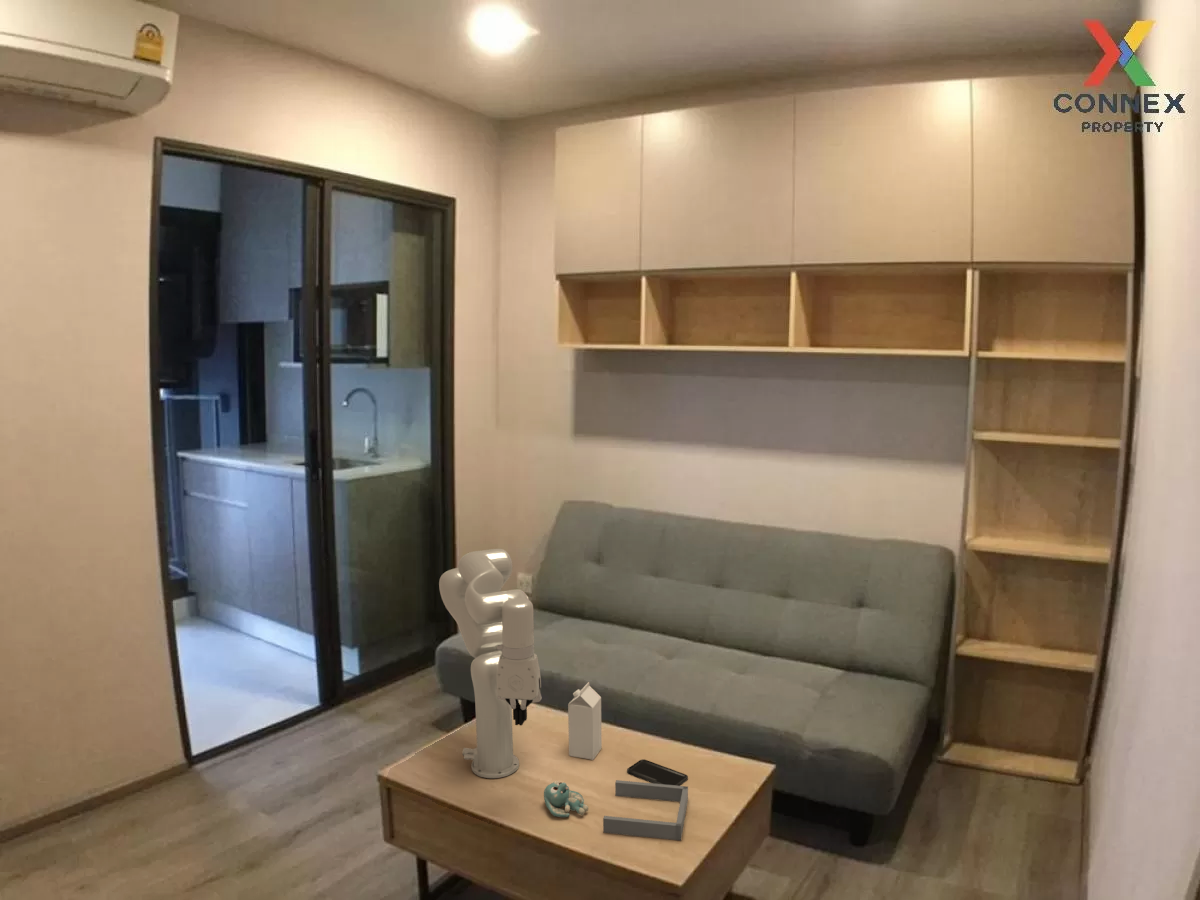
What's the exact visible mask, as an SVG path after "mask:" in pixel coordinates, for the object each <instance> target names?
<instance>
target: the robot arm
mask: <svg viewBox="0 0 1200 900" xmlns="http://www.w3.org/2000/svg"><path fill="white" fill-rule="evenodd" d="M513 567H514V566H513V561H512V558H511V556H510V553H509V552H507V550H506V549H503V548H491V549H483V550H475V551H474V550H473V551H470V552H468V553H465V554H464V555H463V556H461V557H460V559H459V560H458V563H457V567H455V568H452V569H448V570H447V571H445V572H444V573H442V574H441V576H440V578H439V582H438V585H439V593H440V597H441V601H442V602H443V605H444V606H445V609H446V610H447V611H448V612H449V614H450V615H451V617H452V618H453V619H454V620H455V622H456V624H457V627H458V629H459V631H460V635H461V636H462V640H463V642H464V645H465V647H466V650H467V652H468V653H469V655H470V656H471V657H473V658H474V659H473V660H471V661H472V662H471V665H470V677H471V680H472V686H473V692H474V693H473V694H474V703H475V724H476V725H475V727H476V729H475V730H476V747H475V748H469V747H463V749H462V756H463V759H464V760H471V761H472V762H471V771H472V773H474V774H475V775H476V776H477V777H481V778H484V779H486V778H487V779H499V778H505V777H507V776H510V775H512V774H513V773H515V772H516V771H518V769H519V766H520V760H519V758H518V757H517V756H516V755H515V754H514V746H513V745H514V741H513V739H514V738H513V737H514V736H513V734H514V733H513V721H514V725H515V726H518V725H519V726H523V725H524V723H525V722H526V721H527V719H528V709H527V708H528V707H529V706H530V705H531V704H533V703H539V702H541V700H543V699H542V698H543V697H542V692H541V690H542V678H541V669H540V668H541V667H540V665H539V658H538V655H537V653H535V634H534V632H535V631H534V629H535V628H534V626H535V625H534V624H535V623H534V604H533V602H532V601H531V600H530V599H529V596H528V595H527V594H526V592H525V591H524V590H522V589H518V588H516V589H508V590H502V589H503V587H504V586H505V584H506V583H507V582H508V580H509V579H510V577H511V575H512V573H513ZM519 700H521V703H520V701H519Z"/></svg>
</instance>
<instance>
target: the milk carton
mask: <svg viewBox="0 0 1200 900" xmlns="http://www.w3.org/2000/svg"><path fill="white" fill-rule="evenodd" d="M572 695H573V698H572V700H570V701H569V703H568V705H567V706H568V707H567V709H568V710H567V713H568V714H567V715H568V716H567V717H568V719H567V720H568V721H567V722H568V724H567V725H568V756H569V757H572V758H573V757H575V758H579V759H580V758H581V759H587V760H591V761H592V760H593V761H594V760H595V758H596V756H597V755H598V753H599V752H600V751H601V750H602V697H601V696H600V694H598V692H596V690H595V689H593V688H592V687H591V686H590V681H588V682H587V683H586V684H585V685H584V686H583V687H582V688H581V689H579V688H578V689H577V690H575V691H574V692H572Z"/></svg>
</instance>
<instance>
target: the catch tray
mask: <svg viewBox="0 0 1200 900" xmlns="http://www.w3.org/2000/svg"><path fill="white" fill-rule="evenodd" d="M614 788H615V796H616V797H626V798H637V799H645V800H646V799H649V800H656V801H657V800H659V801H666V802H667V801H670V802H679V807H678V811H677V818H676V822H673V821H672V822H671V821H670V822H669V821H663V820H661V821H660V820H653V819H652V820H651V819H650V820H649V819H640V818H632V817H621V816H610V815H604V816H603V818H602V822H603V824H602V825H603V826H602V828H603V834H615V835H622V836H624V835H625V836H632V837H640V838H641V837H643V838H652V839H661V840H673V841H680V842H681V841H682V836H683V831H684V825H685V819H686V813H687V808H688V801H689V786H686V785H684V786H683V785H681V786H676V785H665V784H654V783H650V782H644V781H643V782H640V781H630V780H629V781H628V780H620V779H617V780H615V785H614Z"/></svg>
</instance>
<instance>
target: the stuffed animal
mask: <svg viewBox="0 0 1200 900" xmlns="http://www.w3.org/2000/svg"><path fill="white" fill-rule="evenodd" d="M543 799H544V800H543V801H544V803H545V806H546V808H547V810H548V811H549V812H550V814H551V815H552V816H553V817H557V818H560V819H562V818H570V811H573V812H574V811H575V812H577V814H579V815H580V816H583V815H584V814H585V813H586V812H588V810H589V806H588V805H587V804H585V803H584V802H585V799H584V797H583V795H582V794H581V793H580V792H577V791H575V790H570V787H569V785H567V783H566V782H560V781H558V780H555V781H553V782H551V783H550V784H548V785H547V786H545V788H544V791H543ZM562 807H564V809H563V808H562Z"/></svg>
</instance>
